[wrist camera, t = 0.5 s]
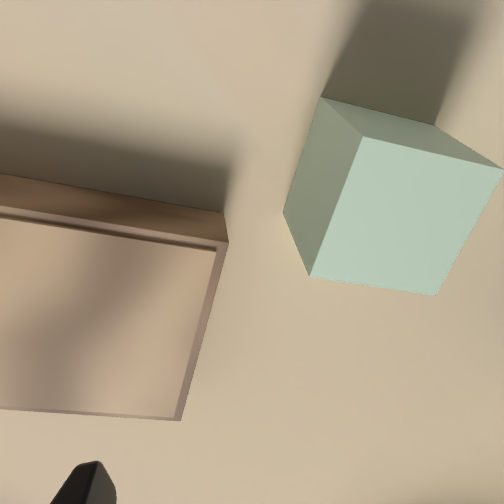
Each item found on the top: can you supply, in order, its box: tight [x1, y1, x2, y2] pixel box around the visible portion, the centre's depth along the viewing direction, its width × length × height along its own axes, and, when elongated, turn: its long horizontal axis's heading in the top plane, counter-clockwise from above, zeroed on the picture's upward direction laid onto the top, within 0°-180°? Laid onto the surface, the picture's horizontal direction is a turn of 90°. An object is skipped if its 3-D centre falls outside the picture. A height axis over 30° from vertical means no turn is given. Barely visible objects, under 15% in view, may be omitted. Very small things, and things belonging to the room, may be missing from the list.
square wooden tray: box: [0, 174, 229, 421], centre depth 20 cm, size 10×10×3 cm
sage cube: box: [283, 97, 504, 296], centre depth 18 cm, size 5×5×5 cm
